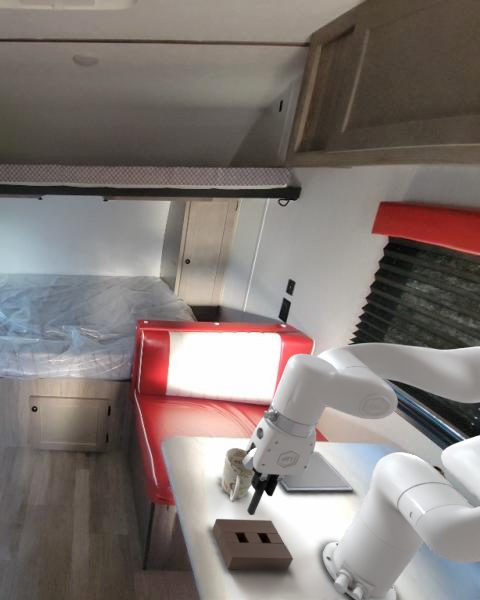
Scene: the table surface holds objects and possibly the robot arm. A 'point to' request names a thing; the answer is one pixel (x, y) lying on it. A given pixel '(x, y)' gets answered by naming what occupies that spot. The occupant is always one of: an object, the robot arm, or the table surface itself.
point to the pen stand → (251, 545)
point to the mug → (236, 474)
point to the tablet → (316, 478)
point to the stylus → (255, 501)
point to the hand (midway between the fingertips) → (261, 489)
